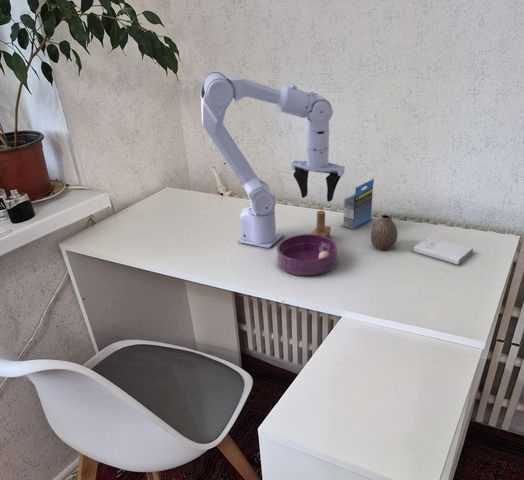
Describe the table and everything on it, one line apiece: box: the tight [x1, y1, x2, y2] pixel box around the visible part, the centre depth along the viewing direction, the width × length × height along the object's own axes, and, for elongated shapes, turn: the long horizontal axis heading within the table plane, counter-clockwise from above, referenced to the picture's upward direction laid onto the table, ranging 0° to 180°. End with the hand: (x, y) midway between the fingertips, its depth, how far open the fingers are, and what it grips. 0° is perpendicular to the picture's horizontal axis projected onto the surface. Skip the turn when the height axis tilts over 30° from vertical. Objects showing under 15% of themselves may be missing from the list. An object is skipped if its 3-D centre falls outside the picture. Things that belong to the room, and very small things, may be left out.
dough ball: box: [318, 251, 329, 259], centre depth 130 cm, size 3×3×3 cm
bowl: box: [276, 233, 338, 277], centre depth 131 cm, size 15×15×4 cm
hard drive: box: [412, 236, 474, 266], centre depth 132 cm, size 2×8×12 cm
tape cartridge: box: [343, 178, 375, 230], centre depth 146 cm, size 9×4×12 cm, turn 136°
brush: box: [310, 210, 332, 239], centre depth 139 cm, size 4×6×8 cm, turn 153°
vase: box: [370, 214, 399, 251], centre depth 134 cm, size 7×7×9 cm
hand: (317, 198), depth 140 cm, fingers open, 7 cm apart
